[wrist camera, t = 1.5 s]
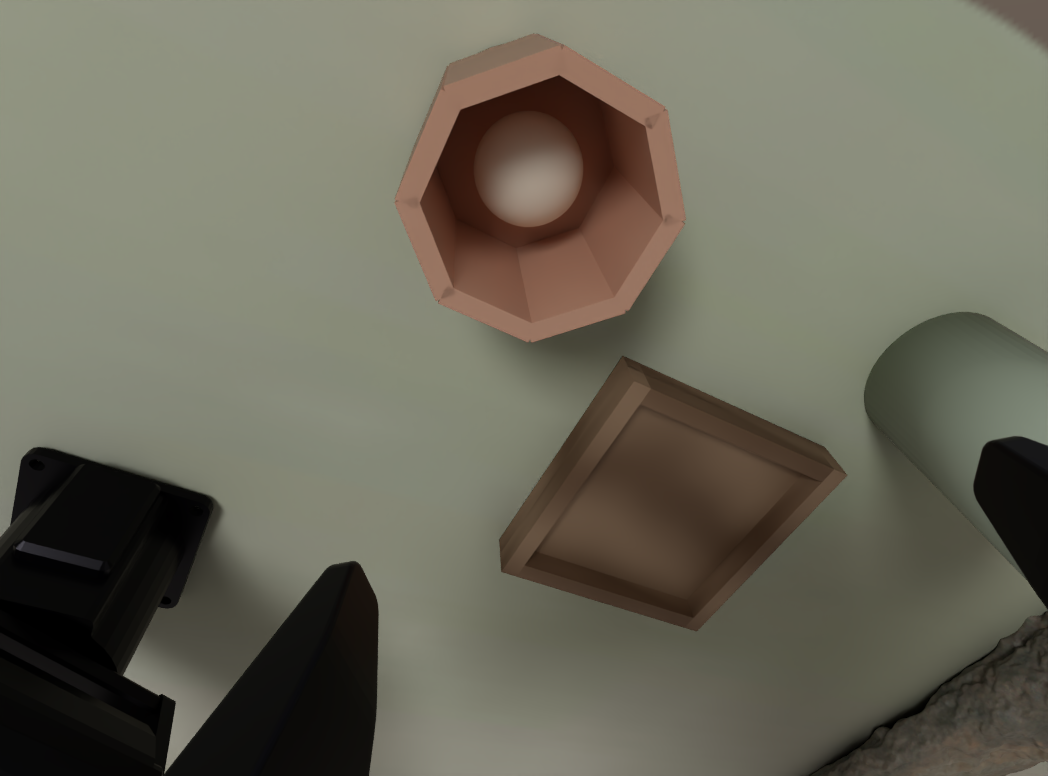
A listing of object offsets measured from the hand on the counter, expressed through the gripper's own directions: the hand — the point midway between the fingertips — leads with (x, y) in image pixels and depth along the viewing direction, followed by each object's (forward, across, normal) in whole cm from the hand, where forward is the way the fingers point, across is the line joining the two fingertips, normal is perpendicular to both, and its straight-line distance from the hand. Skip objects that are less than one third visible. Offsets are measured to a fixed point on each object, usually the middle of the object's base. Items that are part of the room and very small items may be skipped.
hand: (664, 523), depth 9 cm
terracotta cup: (+13, +1, -2) cm, 13 cm away
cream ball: (+13, +1, -2) cm, 13 cm away
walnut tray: (+13, -2, +12) cm, 18 cm away
